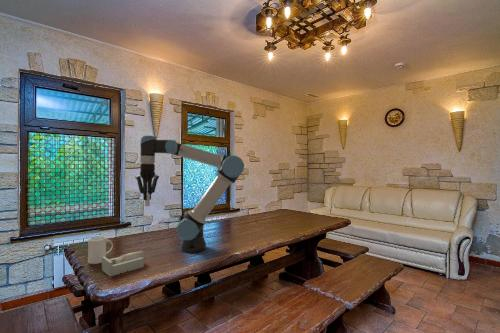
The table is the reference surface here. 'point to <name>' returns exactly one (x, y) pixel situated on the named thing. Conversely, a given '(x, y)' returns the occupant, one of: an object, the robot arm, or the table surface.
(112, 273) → the cradle
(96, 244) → the mug
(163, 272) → the table surface
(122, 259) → the bottle
